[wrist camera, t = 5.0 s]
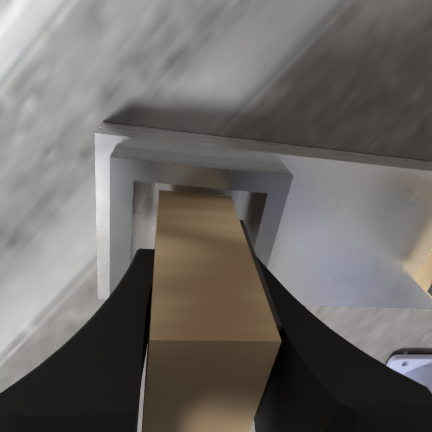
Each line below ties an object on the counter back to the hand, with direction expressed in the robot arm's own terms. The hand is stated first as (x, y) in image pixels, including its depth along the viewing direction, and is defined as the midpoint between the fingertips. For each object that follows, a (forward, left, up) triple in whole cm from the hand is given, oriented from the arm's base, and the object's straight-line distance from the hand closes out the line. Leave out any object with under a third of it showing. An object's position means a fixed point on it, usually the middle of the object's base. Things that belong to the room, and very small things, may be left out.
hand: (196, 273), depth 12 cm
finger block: (0, 0, -2) cm, 2 cm away
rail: (-6, 0, -4) cm, 7 cm away
